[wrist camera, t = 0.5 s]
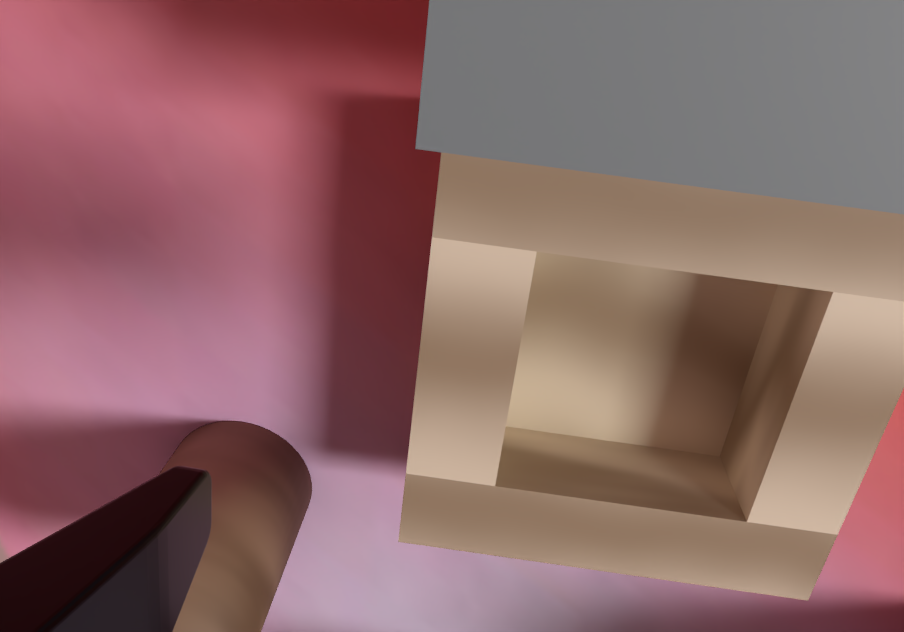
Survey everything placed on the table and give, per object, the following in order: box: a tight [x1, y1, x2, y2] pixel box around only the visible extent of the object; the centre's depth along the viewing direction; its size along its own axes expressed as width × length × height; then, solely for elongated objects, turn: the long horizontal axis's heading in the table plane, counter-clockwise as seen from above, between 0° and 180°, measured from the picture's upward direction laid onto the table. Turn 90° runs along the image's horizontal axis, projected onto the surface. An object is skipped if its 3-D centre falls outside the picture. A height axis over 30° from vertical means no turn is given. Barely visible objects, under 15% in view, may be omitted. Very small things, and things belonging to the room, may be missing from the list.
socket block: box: [398, 152, 904, 601], centre depth 21 cm, size 12×12×4 cm
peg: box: [160, 421, 312, 632], centre depth 22 cm, size 5×5×9 cm
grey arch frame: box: [415, 0, 904, 214], centre depth 14 cm, size 4×12×10 cm, turn 83°
